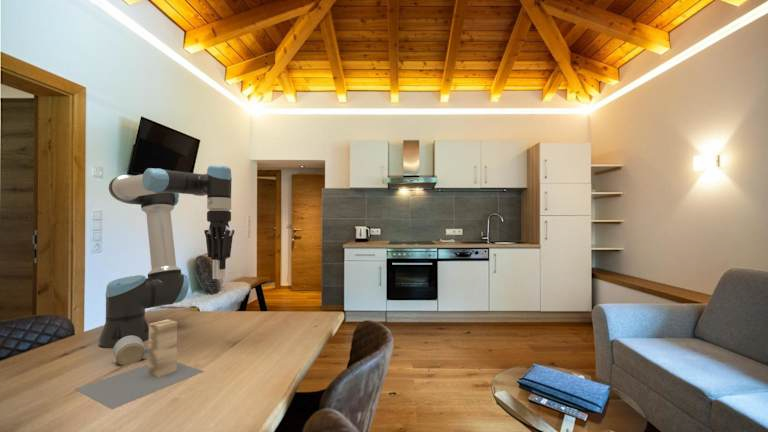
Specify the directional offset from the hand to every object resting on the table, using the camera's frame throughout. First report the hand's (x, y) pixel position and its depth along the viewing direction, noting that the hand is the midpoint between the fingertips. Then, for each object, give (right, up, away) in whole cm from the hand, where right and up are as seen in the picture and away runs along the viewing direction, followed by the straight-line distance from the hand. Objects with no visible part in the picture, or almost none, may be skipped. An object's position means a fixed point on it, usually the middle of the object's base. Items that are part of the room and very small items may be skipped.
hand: (218, 278), depth 114 cm
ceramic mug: (-22, -25, -10) cm, 34 cm away
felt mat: (-8, -24, -25) cm, 35 cm away
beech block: (-6, -23, -20) cm, 31 cm away
